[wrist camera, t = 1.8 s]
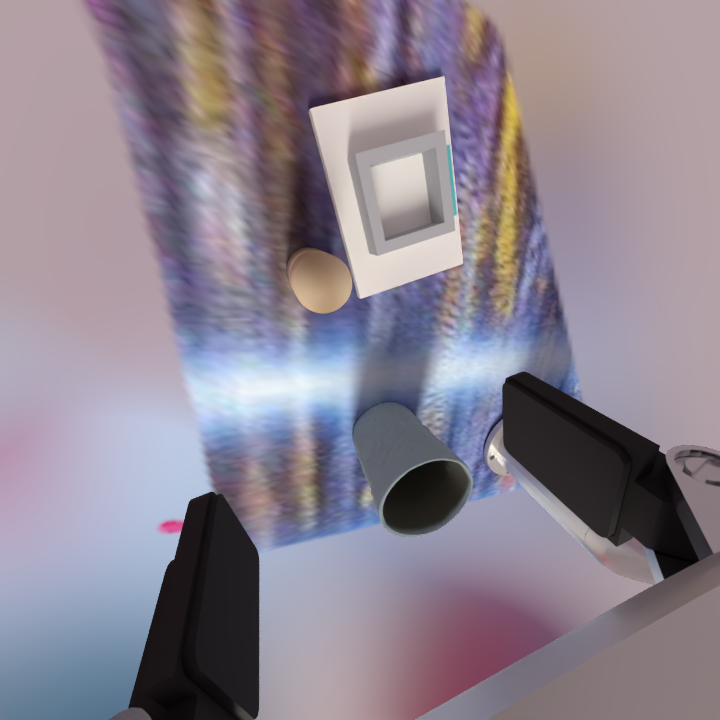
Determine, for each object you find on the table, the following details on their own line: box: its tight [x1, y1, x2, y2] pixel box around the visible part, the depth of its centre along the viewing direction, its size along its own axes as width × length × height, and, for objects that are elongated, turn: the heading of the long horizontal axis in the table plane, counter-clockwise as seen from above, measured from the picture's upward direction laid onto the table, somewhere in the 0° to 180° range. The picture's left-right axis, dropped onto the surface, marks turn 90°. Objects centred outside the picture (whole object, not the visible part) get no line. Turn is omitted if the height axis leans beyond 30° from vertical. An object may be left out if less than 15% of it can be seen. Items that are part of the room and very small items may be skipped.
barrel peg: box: [287, 247, 352, 313], centre depth 27 cm, size 4×4×8 cm
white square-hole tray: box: [309, 76, 463, 299], centre depth 28 cm, size 12×16×4 cm
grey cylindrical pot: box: [353, 402, 473, 537], centre depth 35 cm, size 10×10×12 cm
